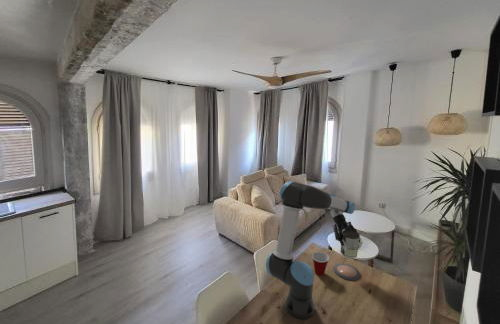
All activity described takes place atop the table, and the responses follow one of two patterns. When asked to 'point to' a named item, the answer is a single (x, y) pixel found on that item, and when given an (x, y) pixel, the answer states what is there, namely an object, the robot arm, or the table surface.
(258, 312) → the table surface
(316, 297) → the table surface
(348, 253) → the coffee can
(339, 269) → the round plate
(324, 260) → the plastic cup
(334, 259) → the table surface
